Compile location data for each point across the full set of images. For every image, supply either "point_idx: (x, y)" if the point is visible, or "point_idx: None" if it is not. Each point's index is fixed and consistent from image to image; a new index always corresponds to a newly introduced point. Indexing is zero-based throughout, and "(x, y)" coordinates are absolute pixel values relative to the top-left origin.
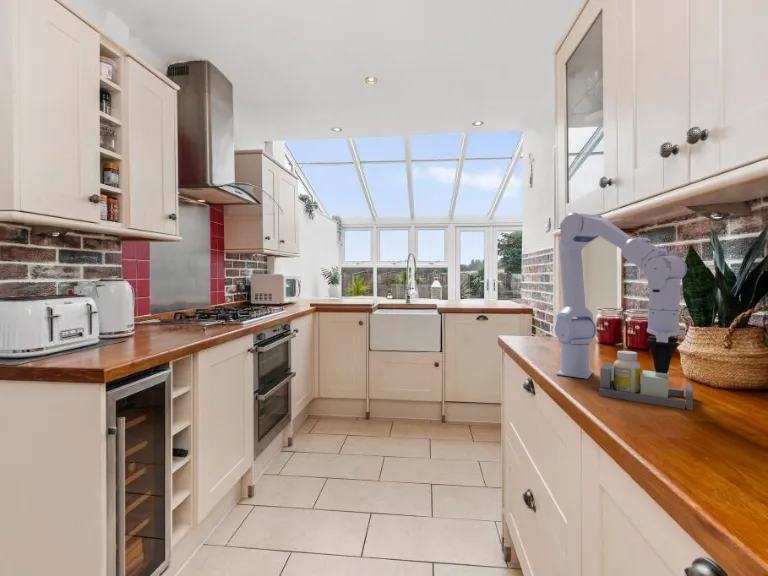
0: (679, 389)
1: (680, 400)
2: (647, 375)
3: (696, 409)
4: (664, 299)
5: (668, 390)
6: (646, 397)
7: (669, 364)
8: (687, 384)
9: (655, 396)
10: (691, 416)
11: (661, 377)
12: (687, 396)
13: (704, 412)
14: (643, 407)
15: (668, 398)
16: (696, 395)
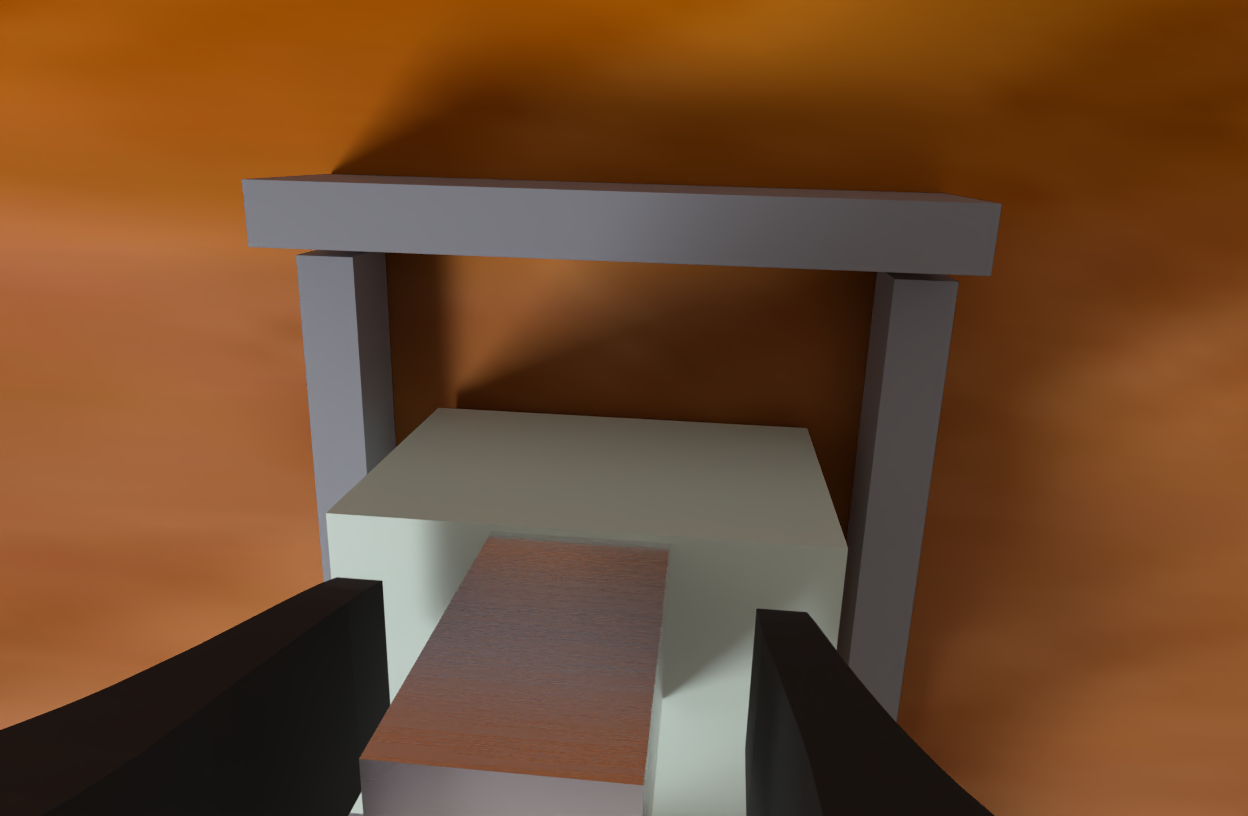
0: (314, 304)
1: (915, 329)
2: (715, 786)
3: (875, 151)
4: None
5: (370, 414)
6: (905, 645)
7: (863, 691)
8: (296, 229)
9: (870, 571)
10: (1229, 224)
11: (747, 629)
12: (988, 270)
13: (970, 75)
14: (1085, 639)
15: (891, 449)
16: (173, 103)
